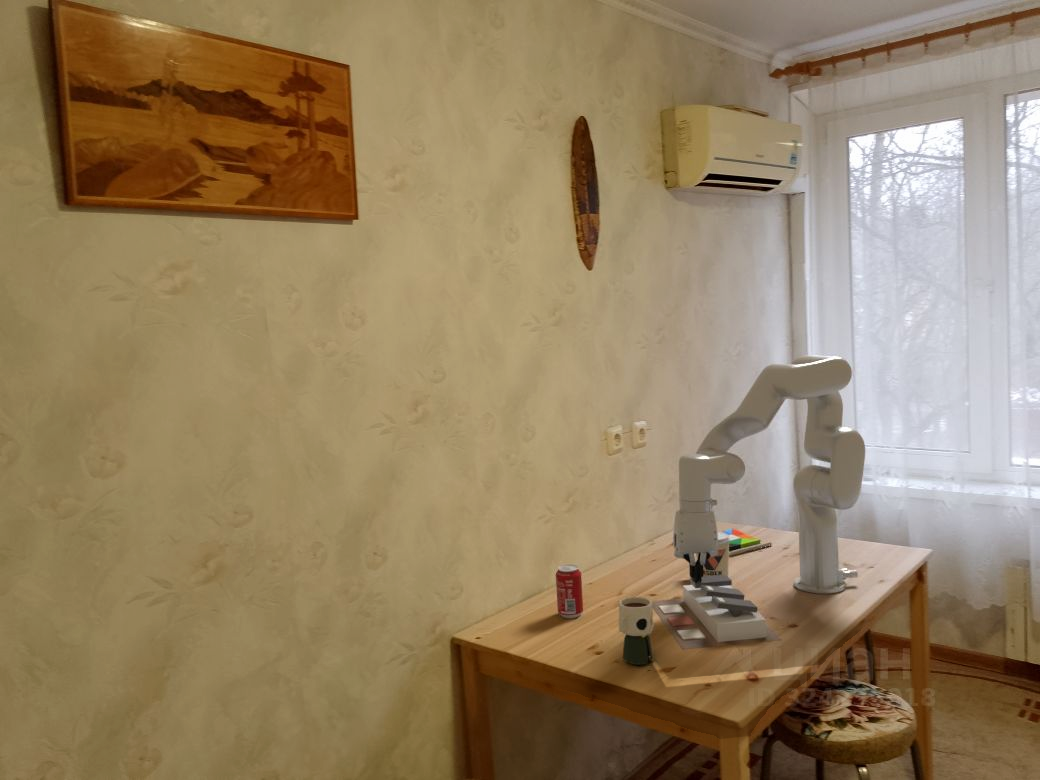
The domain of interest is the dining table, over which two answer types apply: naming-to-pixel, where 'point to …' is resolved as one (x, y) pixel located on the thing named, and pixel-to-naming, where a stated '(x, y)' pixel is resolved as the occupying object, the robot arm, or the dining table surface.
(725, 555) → the coffee cup
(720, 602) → the rocker near
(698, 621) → the chart board
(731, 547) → the wooden puzzle
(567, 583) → the beverage can
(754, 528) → the dining table surface
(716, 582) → the block
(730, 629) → the switch housing
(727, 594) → the rocker middle
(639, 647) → the character mug
